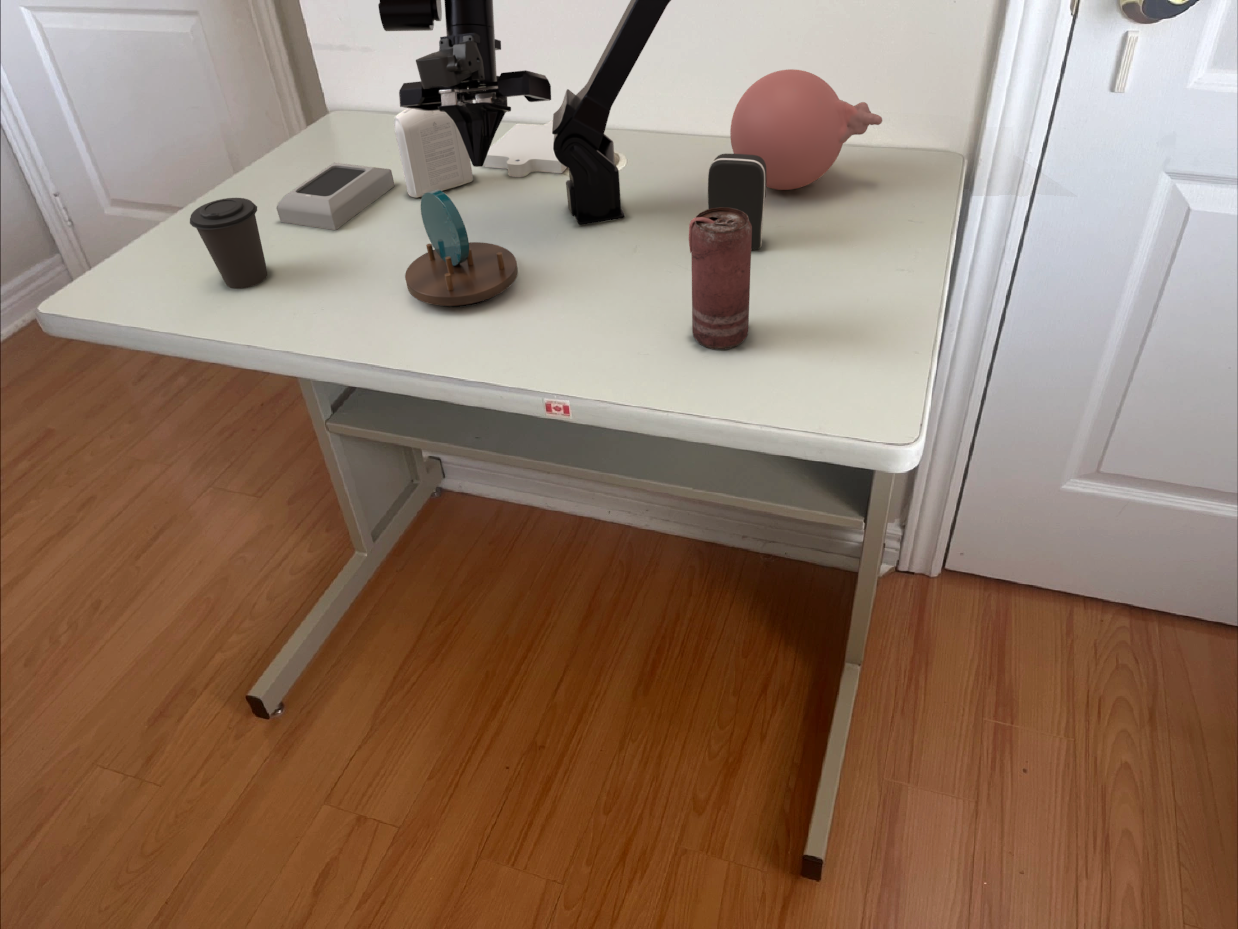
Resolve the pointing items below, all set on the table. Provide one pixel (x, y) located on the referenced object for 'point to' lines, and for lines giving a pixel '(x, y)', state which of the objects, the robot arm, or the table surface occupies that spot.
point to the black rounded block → (739, 188)
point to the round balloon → (795, 126)
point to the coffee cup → (232, 240)
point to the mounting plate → (525, 151)
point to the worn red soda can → (720, 277)
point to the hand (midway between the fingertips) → (477, 166)
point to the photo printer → (431, 151)
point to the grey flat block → (334, 195)
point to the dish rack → (456, 260)
